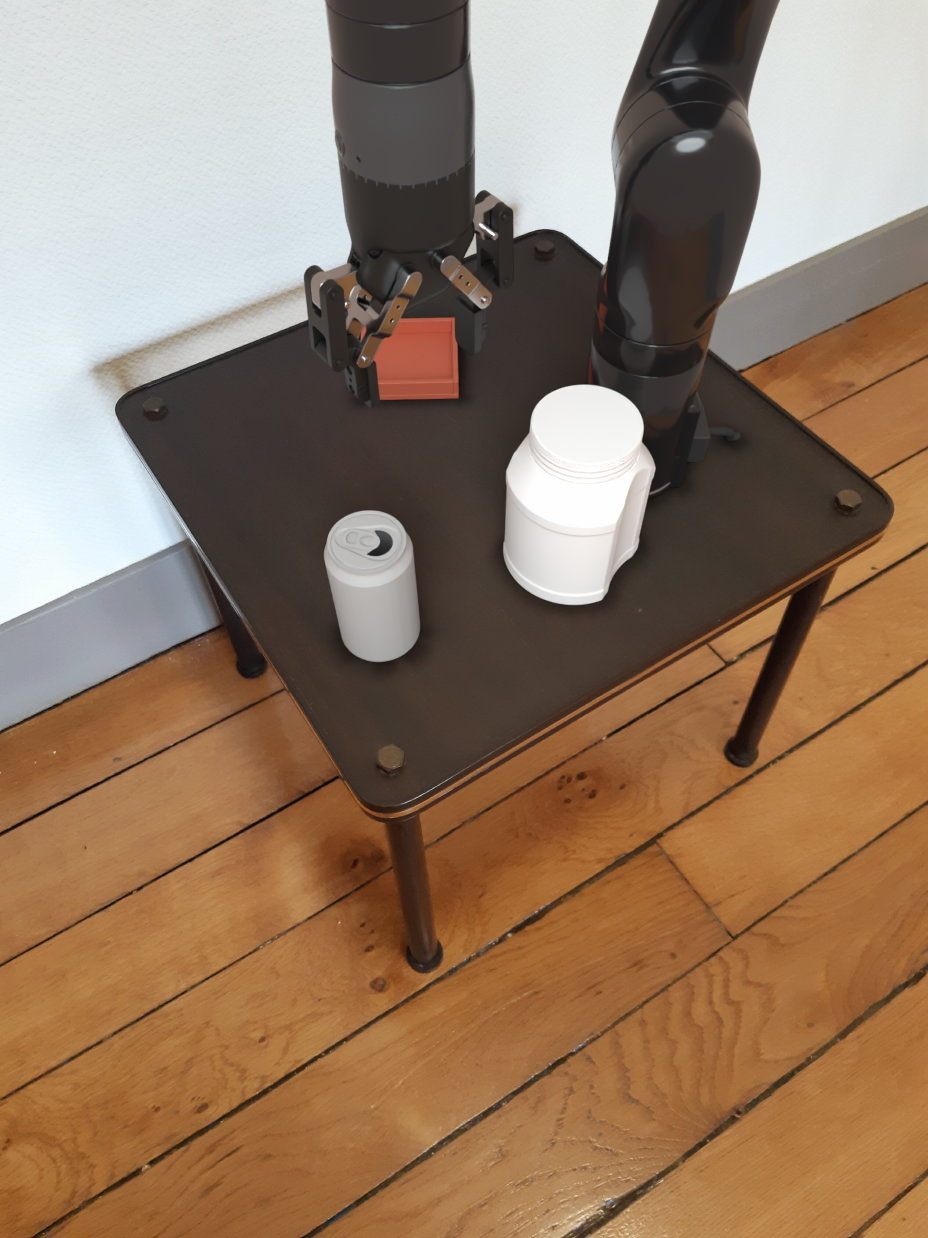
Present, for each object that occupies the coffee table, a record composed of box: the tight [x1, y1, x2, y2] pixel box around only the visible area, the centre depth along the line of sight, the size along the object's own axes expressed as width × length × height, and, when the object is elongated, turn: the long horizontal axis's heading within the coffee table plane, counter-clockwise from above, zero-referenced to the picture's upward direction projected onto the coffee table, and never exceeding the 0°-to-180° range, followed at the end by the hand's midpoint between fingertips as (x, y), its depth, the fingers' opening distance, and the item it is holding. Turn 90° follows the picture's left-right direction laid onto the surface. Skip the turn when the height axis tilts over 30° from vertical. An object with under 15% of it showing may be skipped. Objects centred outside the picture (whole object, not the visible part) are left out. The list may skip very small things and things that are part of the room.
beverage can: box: [323, 510, 421, 663], centre depth 71 cm, size 6×6×12 cm
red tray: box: [360, 316, 460, 401], centre depth 93 cm, size 10×10×2 cm
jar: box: [502, 384, 656, 606], centre depth 75 cm, size 12×10×15 cm
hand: (419, 372), depth 64 cm, fingers open, 8 cm apart
